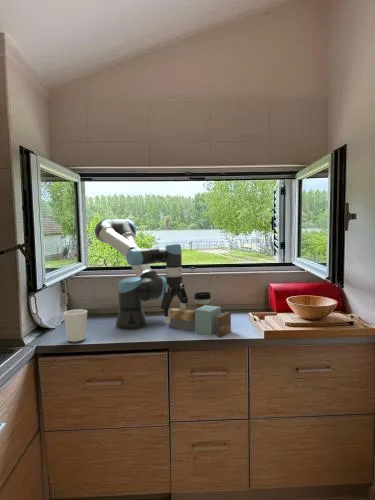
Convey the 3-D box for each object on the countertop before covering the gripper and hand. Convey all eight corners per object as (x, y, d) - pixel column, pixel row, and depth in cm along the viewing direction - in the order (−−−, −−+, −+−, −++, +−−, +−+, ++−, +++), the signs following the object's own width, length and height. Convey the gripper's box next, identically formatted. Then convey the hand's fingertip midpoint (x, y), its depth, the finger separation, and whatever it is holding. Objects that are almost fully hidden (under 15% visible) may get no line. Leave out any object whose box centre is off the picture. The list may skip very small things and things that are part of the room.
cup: (91, 341, 147) (89, 312, 146) (67, 346, 142) (65, 315, 141) (85, 335, 156) (84, 308, 155) (62, 339, 151) (61, 311, 150)
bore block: (195, 333, 155) (194, 309, 154) (205, 327, 163) (205, 305, 163) (211, 336, 151) (210, 311, 150) (221, 330, 159) (220, 306, 158)
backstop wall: (217, 337, 149) (216, 316, 148) (226, 331, 157) (226, 311, 157) (221, 337, 148) (221, 317, 147) (230, 331, 156) (230, 312, 156)
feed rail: (169, 326, 167) (168, 317, 167) (171, 325, 169) (171, 316, 169) (195, 330, 159) (195, 321, 159) (198, 329, 161) (198, 320, 161)
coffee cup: (210, 324, 168) (209, 294, 167) (193, 324, 170) (192, 294, 169) (212, 320, 176) (211, 291, 175) (196, 319, 178) (195, 291, 177)
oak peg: (167, 317, 166) (167, 309, 166) (172, 315, 169) (172, 307, 169) (192, 321, 159) (192, 312, 158) (197, 319, 162) (196, 311, 162)
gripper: (165, 279, 152) (167, 327, 153) (194, 273, 173) (195, 314, 175) (152, 279, 156) (153, 325, 157) (181, 272, 177) (182, 312, 179)
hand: (175, 319), depth 166 cm, fingers open, 13 cm apart
